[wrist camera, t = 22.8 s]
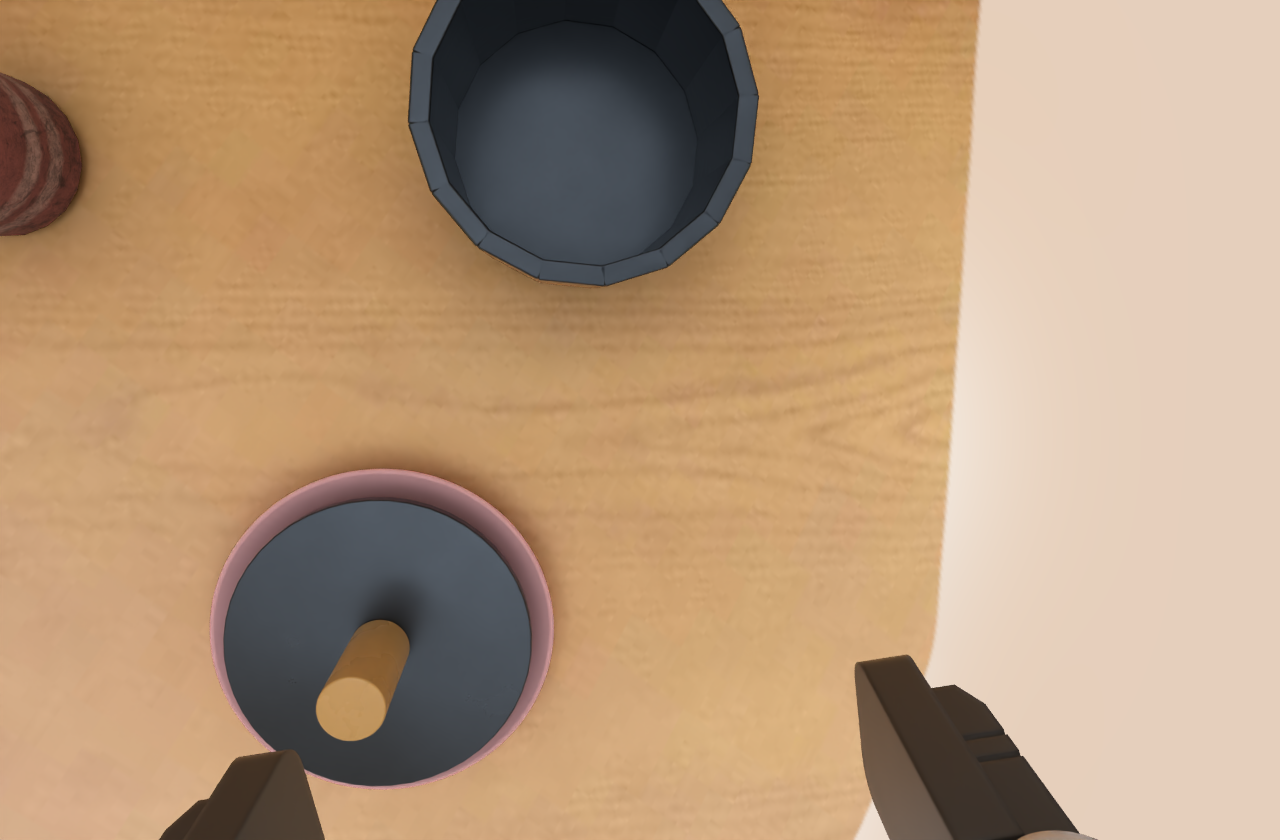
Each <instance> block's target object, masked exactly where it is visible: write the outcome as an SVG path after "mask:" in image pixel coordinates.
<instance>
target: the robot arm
mask: <svg viewBox="0 0 1280 840" xmlns="http://www.w3.org/2000/svg"><path fill="white" fill-rule="evenodd" d="M855 684H856V695H857V706H858V716H859V727H860V738H861V748H862V758H863V764H864V770H865V774H866V779H867V783H868V786H869V790H870V793H871V796H872V799H873V802H874V804H875V807H876V809H877V811H878V814H879V816H880V818H881V820H882V823H883V825H884V827H885V830H886V832H887V834H888V836H889V839H890V840H1097V839H1095V838H1092V837H1089V836H1086V835H1083V834H1080V833H1079V832H1078V831H1077V829H1076V828H1075V826H1074V825H1073V824H1072V822H1071V821H1070V820H1069V818H1068V817H1067V816H1066V814H1065V813H1064V811H1063V810H1062V809H1061V807H1060V806H1059V804H1058V803H1057V802H1056V800H1055V799H1054V798H1053V796H1052V795H1051V794H1050V792H1049V791H1048V789H1047V788H1046V787H1045V785H1044V784H1043V783H1042V781H1041V780H1040V778H1039V777H1038V776H1037V774H1036V773H1035V772H1034V770H1033V769H1032V768H1031V766H1030V765H1029V763H1028V762H1027V761H1026V759H1025V758H1024V757H1023V756H1020V753H1019V750H1018V748H1017V747H1016V746H1015V744H1014V743H1013V741H1012V740H1011V739H1010V737H1009V736H1008V735H1005V733H1004V729H1003V728H1002V726H1001V725H1000V724H999V722H998V721H997V719H996V718H995V717H994V716H993V714H992V713H991V711H990V710H989V709H988V707H987V706H986V704H984V703H983V702H981V701H979V700H978V699H976V698H975V697H973V696H972V695H970V694H968V693H967V692H965V691H964V690H962V689H961V688H959V687H957V686H956V685H949V686H943V687H936V688H931V687H930V686H929V684H928V683H927V681H926V680H925V678H924V676H923V675H922V673H921V672H920V670H919V669H918V667H917V666H916V664H915V662H914V661H913V659H912V658H911V657H910V656H909V655H902V656H895V657H889V658H882V659H876V660H869V661H863V662H857V663H856V664H855ZM159 840H325V838H324V834H323V831H322V828H321V824H320V821H319V818H318V814H317V811H316V807H315V804H314V801H313V797H312V794H311V791H310V787H309V784H308V781H307V777H306V774H305V771H304V767H303V764H302V761H301V759H300V757H299V755H298V754H297V752H296V751H294V750H292V749H288V750H282V751H275V752H269V753H262V754H256V755H249V756H243V757H238V758H236V759H235V760H234V761H233V762H232V763H231V765H230V766H229V768H228V769H227V771H226V773H225V774H224V776H223V777H222V779H221V780H220V782H219V784H218V785H217V787H216V788H215V790H214V791H213V793H212V795H211V796H210V798H209V799H206V800H200V801H198V802H197V803H195V804H194V805H193V806H192V807H191V808H190V809H189V810H188V811H186V812H185V813H184V814H183V815H182V816H181V817H180V818H179V819H177V820H176V821H175V822H174V823H173V824H172V825H171V826H170V827H168V828H167V829H166V830H165V832H164V833H163V835H162V836H161V838H160V839H159Z"/></svg>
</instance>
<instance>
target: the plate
mask: <svg viewBox="0 0 1280 840" xmlns="http://www.w3.org/2000/svg"><path fill="white" fill-rule="evenodd" d="M367 497H394V498H401V499H409V500H414V501H418V502H422V503H425V504H429V505H432V506H435V507H437V508H440V509H442V510H445V511H447V512H450V513H452V514H453V515H455V516H457V517H459V518H461V519H462V520H464V521H466V522H467V523H469V524H470V525H472V526H473V527H474V528H476V529H477V530H478V531H480V532H481V533H482V534H483V535H484V536H485V537H487V538H488V539H489V540H490V541H491V542H492V543H493V544H494V545H495V546H496V547H497V548H498V550H499V551H500V552H501V553H502V555H503V556H504V557H505V559H506V560H507V561H508V562H509V564H510V566H511V567H512V569H513V571H514V573H515V574H516V576H517V578H518V580H519V582H520V584H521V587H522V589H523V592H524V594H525V597H526V601H527V604H528V608H529V612H530V619H531V627H532V654H531V661H530V667H529V673H528V676H527V680H526V683H525V686H524V690H523V692H522V694H521V696H520V698H519V701H518V703H517V705H516V707H515V709H514V710H513V712H512V713H511V715H510V717H509V718H508V720H507V721H506V723H505V724H504V725H503V726H502V728H501V729H500V730H499V731H498V733H497V734H496V735H495V736H494V737H493V738H492V739H491V740H490V741H489V742H488V743H487V744H486V745H485V746H484V747H483V748H482V749H481V750H479V751H478V752H476V753H475V754H474V755H472V756H471V757H470V758H468V759H467V760H465V761H464V762H462V763H460V764H459V765H457V766H455V767H453V768H451V769H450V770H448V771H445V772H443V773H440V774H438V775H435V776H433V777H430V778H427V779H424V780H420V781H416V782H413V783H407V784H400V785H394V786H362V785H352V784H347V783H342V782H338V781H333V780H330V779H327V778H324V777H321V776H318V775H316V774H313V773H311V772H309V771H307V770H305V769H304V771H305V773H307V774H309V775H311V776H314V777H316V778H319V779H322V780H325V781H328V782H332V783H335V784H339V785H344V786H349V787H355V788H363V789H399V788H408V787H414V786H419V785H424V784H428V783H431V782H435V781H438V780H441V779H444V778H446V777H449V776H451V775H454V774H456V773H458V772H460V771H462V770H464V769H466V768H468V767H470V766H472V765H473V764H475V763H477V762H478V761H480V760H481V759H483V758H484V757H486V756H487V755H489V754H490V753H491V752H492V751H494V750H495V749H496V748H497V747H499V746H500V745H501V744H502V743H503V742H504V741H505V740H506V739H507V738H508V737H509V736H510V735H511V734H512V733H513V732H514V731H515V730H516V729H517V727H518V726H519V725H520V724H521V722H522V721H523V720H524V718H525V717H526V715H527V714H528V712H529V711H530V709H531V708H532V706H533V704H534V703H535V701H536V699H537V697H538V695H539V693H540V691H541V688H542V686H543V683H544V681H545V678H546V675H547V672H548V668H549V664H550V660H551V655H552V649H553V639H554V618H553V608H552V602H551V597H550V593H549V589H548V585H547V582H546V579H545V576H544V574H543V571H542V569H541V567H540V565H539V562H538V560H537V558H536V557H535V555H534V553H533V551H532V550H531V548H530V546H529V545H528V543H527V542H526V540H525V539H524V538H523V536H522V535H521V534H520V532H519V531H518V530H517V529H516V528H515V527H514V525H513V524H512V523H511V522H510V521H509V520H508V519H507V518H506V517H505V516H504V515H503V514H502V513H500V512H499V511H498V510H497V509H496V508H495V507H493V506H492V505H491V504H489V503H488V502H487V501H485V500H484V499H482V498H481V497H479V496H478V495H476V494H474V493H473V492H471V491H469V490H467V489H465V488H463V487H461V486H459V485H457V484H455V483H452V482H450V481H447V480H445V479H442V478H439V477H436V476H432V475H429V474H425V473H420V472H415V471H409V470H401V469H364V470H356V471H350V472H345V473H340V474H336V475H332V476H329V477H326V478H323V479H320V480H317V481H315V482H312V483H310V484H307V485H305V486H303V487H301V488H299V489H297V490H295V491H294V492H292V493H290V494H288V495H287V496H285V497H284V498H282V499H281V500H279V501H278V502H276V503H275V504H274V505H272V506H271V507H270V508H269V509H267V510H266V511H265V512H264V513H263V514H262V515H261V516H259V517H258V518H257V519H256V520H255V521H254V522H253V524H252V525H251V526H250V527H249V528H248V529H247V530H246V531H245V533H244V534H243V535H242V537H241V538H240V539H239V541H238V542H237V543H236V545H235V547H234V548H233V550H232V551H231V553H230V555H229V557H228V558H227V560H226V562H225V564H224V567H223V569H222V571H221V574H220V576H219V579H218V582H217V585H216V588H215V592H214V596H213V601H212V606H211V614H210V644H211V652H212V658H213V663H214V667H215V670H216V674H217V677H218V680H219V683H220V685H221V688H222V690H223V692H224V694H225V696H226V698H227V700H228V702H229V704H230V706H231V707H232V709H233V711H234V712H235V714H236V715H237V717H238V718H239V720H240V721H241V722H242V723H243V725H244V726H245V727H246V728H247V730H248V731H249V732H250V733H251V734H252V735H253V736H254V737H255V738H256V739H257V740H258V741H259V742H260V743H261V744H262V745H263V746H264V747H265V748H267V749H268V750H269V751H270V752H275V750H274V749H273V748H272V747H271V746H270V745H268V744H267V743H266V742H265V741H264V740H263V739H262V738H261V736H260V735H259V734H258V733H257V732H256V731H255V730H254V729H253V727H252V726H251V725H250V723H249V722H248V720H247V719H246V717H245V716H244V714H243V713H242V711H241V709H240V707H239V705H238V703H237V701H236V699H235V697H234V695H233V692H232V689H231V686H230V683H229V680H228V677H227V672H226V666H225V661H224V647H223V636H224V626H225V618H226V615H227V611H228V607H229V603H230V600H231V597H232V595H233V592H234V590H235V588H236V585H237V583H238V581H239V579H240V578H241V576H242V574H243V573H244V571H245V569H246V567H247V566H248V564H249V563H250V562H251V561H252V559H253V558H254V557H255V556H256V554H257V553H258V552H259V551H260V550H261V549H262V548H263V547H264V546H265V545H266V544H267V543H268V542H269V541H270V540H271V539H272V538H273V537H274V536H275V535H276V534H278V533H279V532H280V531H282V530H283V529H284V528H286V527H287V526H288V525H290V524H291V523H293V522H294V521H296V520H298V519H299V518H301V517H303V516H305V515H307V514H309V513H310V512H312V511H315V510H318V509H320V508H323V507H325V506H328V505H330V504H334V503H338V502H342V501H346V500H350V499H359V498H367Z"/></svg>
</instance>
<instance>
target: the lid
mask: <svg viewBox="0 0 1280 840" xmlns="http://www.w3.org/2000/svg"><path fill="white" fill-rule="evenodd" d="M223 647H224V661H225V666H226V672H227V677H228V680H229V683H230V686H231V689H232V692H233V695H234V697H235V699H236V701H237V703H238V705H239V707H240V709H241V711H242V713H243V714H244V716H245V717H246V719H247V720H248V722H249V723H250V725H251V726H252V727H253V729H254V730H255V731H256V732H257V733H258V734H259V735H260V736H261V738H262V739H263V740H264V741H265V742H266V743H267V744H268V745H270V746H271V747H272V748H273V749H274V750H275V751H282V750H288V749H292V750H294V751H296V752H297V754H298V755H299V757H300V759H301V761H302V764H303V767H304V769H305V770H307V771H309V772H311V773H313V774H316V775H318V776H321V777H324V778H327V779H330V780H333V781H338V782H342V783H347V784H352V785H362V786H394V785H400V784H407V783H413V782H416V781H420V780H424V779H427V778H430V777H433V776H435V775H438V774H440V773H443V772H445V771H448V770H450V769H451V768H453V767H455V766H457V765H459V764H460V763H462V762H464V761H465V760H467V759H468V758H470V757H471V756H472V755H474V754H475V753H476V752H478V751H479V750H481V749H482V748H483V747H484V746H485V745H486V744H487V743H488V742H489V741H490V740H491V739H492V738H493V737H494V736H495V735H496V734H497V733H498V731H499V730H500V729H501V728H502V726H503V725H504V724H505V723H506V721H507V720H508V718H509V717H510V715H511V713H512V712H513V710H514V709H515V707H516V705H517V703H518V701H519V698H520V696H521V694H522V692H523V690H524V686H525V683H526V680H527V676H528V673H529V667H530V661H531V654H532V627H531V619H530V612H529V608H528V604H527V601H526V597H525V594H524V592H523V589H522V587H521V584H520V582H519V580H518V578H517V576H516V574H515V573H514V571H513V569H512V567H511V566H510V564H509V562H508V561H507V560H506V559H505V557H504V556H503V555H502V553H501V552H500V551H499V550H498V548H497V547H496V546H495V545H494V544H493V543H492V542H491V541H490V540H489V539H488V538H487V537H485V536H484V535H483V534H482V533H481V532H480V531H478V530H477V529H476V528H474V527H473V526H472V525H470V524H469V523H467V522H466V521H464V520H462V519H461V518H459V517H457V516H455V515H453V514H452V513H450V512H447V511H445V510H442V509H440V508H437V507H435V506H432V505H429V504H425V503H422V502H418V501H414V500H409V499H401V498H394V497H367V498H359V499H350V500H346V501H342V502H338V503H334V504H330V505H328V506H325V507H323V508H320V509H318V510H315V511H312V512H310V513H309V514H307V515H305V516H303V517H301V518H299V519H298V520H296V521H294V522H293V523H291V524H290V525H288V526H287V527H286V528H284V529H283V530H282V531H280V532H279V533H278V534H276V535H275V536H274V537H273V538H272V539H271V540H270V541H269V542H268V543H267V544H266V545H265V546H264V547H263V548H262V549H261V550H260V551H259V552H258V553H257V554H256V556H255V557H254V558H253V559H252V561H251V562H250V563H249V564H248V566H247V567H246V569H245V571H244V573H243V574H242V576H241V578H240V579H239V581H238V583H237V585H236V588H235V590H234V592H233V595H232V597H231V600H230V603H229V607H228V611H227V615H226V618H225V626H224V636H223Z"/></svg>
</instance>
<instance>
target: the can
mask: <svg viewBox="0 0 1280 840" xmlns="http://www.w3.org/2000/svg"><path fill="white" fill-rule="evenodd" d="M81 168H82V163H81V157H80V150H79V143H78V139H77V137H76V135H75V133H74V131H73V129H72V127H71V125H70V123H69V121H68V119H67V117H66V116H65V115H64V114H63V112H62V111H61V110H60V109H59V108H58V107H57V106H56V105H55V104H54V103H53V102H52V100H51V99H50V98H49V97H48V96H46V95H44V94H43V93H41V92H40V91H38V90H36V89H35V88H33V87H31V86H30V85H28V84H26V83H25V82H22V81H20V80H18V79H15V78H13V77H10V76H8V75H5V74H3V73H0V236H9V235H25V234H27V233H30V232H33V231H35V230H38V229H40V228H43V227H46V226H48V225H49V224H50V223H51V222H52V221H54V220H55V219H56V218H57V217H58V216H60V215H61V214H62V213H63V212H64V211H66V209H67V207H68V205H69V204H70V202H71V200H72V198H73V197H74V195H75V193H76V192H77V190H78V184H79V179H80V173H81Z"/></svg>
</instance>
